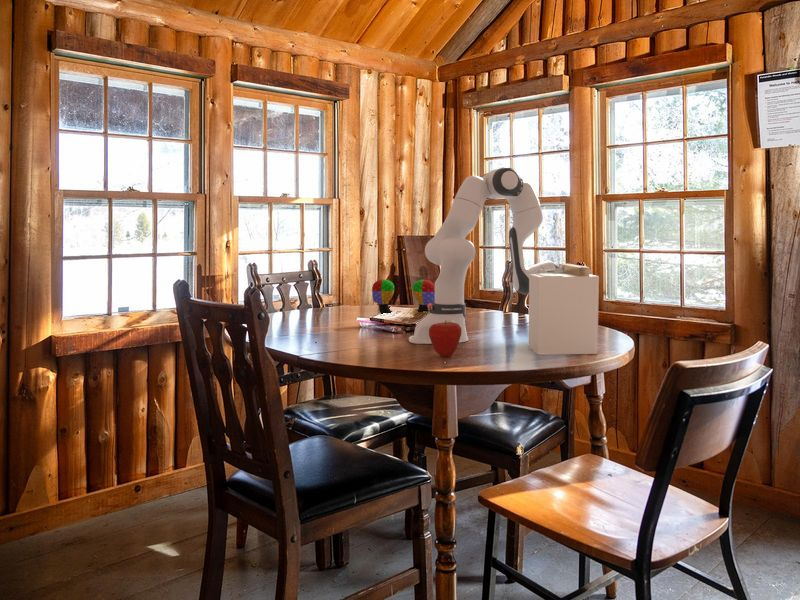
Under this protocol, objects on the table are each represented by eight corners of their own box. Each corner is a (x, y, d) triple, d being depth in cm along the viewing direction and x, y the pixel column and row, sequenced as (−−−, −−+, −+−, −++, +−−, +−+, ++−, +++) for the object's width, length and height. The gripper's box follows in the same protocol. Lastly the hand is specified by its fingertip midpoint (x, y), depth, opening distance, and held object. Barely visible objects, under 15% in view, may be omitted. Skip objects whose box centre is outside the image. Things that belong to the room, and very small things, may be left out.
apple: (445, 351, 236) (445, 316, 235) (468, 355, 228) (468, 319, 227) (422, 355, 229) (421, 319, 227) (444, 360, 221) (444, 323, 219)
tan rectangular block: (578, 276, 227) (579, 267, 226) (558, 271, 250) (558, 263, 250) (589, 276, 227) (589, 267, 226) (568, 271, 251) (568, 263, 250)
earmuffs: (437, 323, 305) (436, 278, 302) (433, 326, 296) (433, 280, 294) (375, 322, 311) (374, 278, 308) (370, 325, 302) (369, 279, 300)
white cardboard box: (538, 354, 229) (539, 276, 226) (528, 347, 243) (529, 273, 240) (597, 353, 230) (599, 275, 227) (584, 346, 243) (585, 272, 241)
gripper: (530, 277, 257) (539, 260, 244) (584, 276, 258) (595, 259, 245) (532, 292, 254) (541, 275, 242) (587, 291, 255) (598, 275, 243)
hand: (569, 267), depth 244 cm, fingers closed on tan rectangular block, 3 cm apart
